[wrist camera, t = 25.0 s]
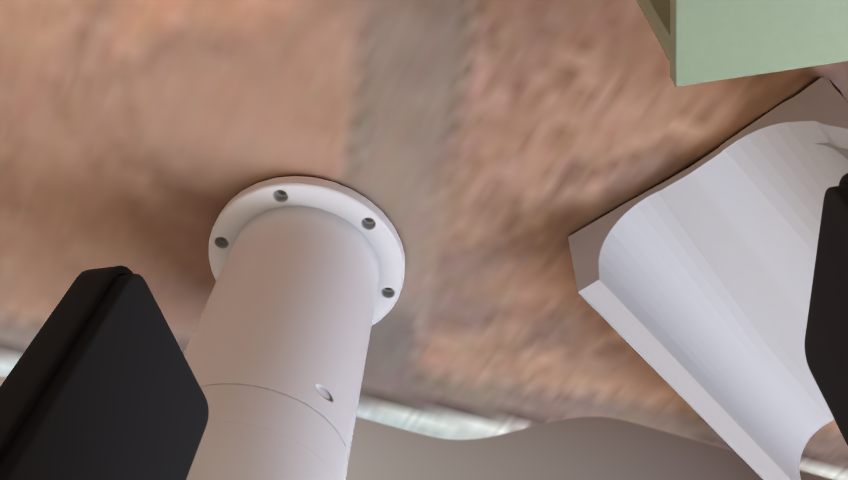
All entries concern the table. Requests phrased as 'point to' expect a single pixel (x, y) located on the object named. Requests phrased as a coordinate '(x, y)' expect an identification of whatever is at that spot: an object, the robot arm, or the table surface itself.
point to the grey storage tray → (729, 277)
